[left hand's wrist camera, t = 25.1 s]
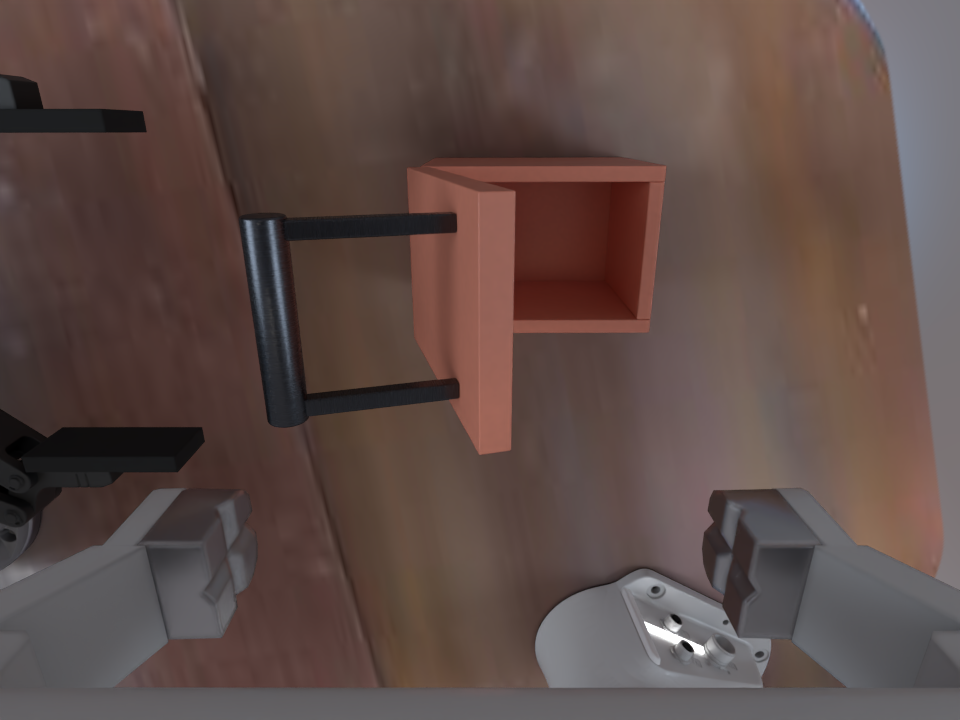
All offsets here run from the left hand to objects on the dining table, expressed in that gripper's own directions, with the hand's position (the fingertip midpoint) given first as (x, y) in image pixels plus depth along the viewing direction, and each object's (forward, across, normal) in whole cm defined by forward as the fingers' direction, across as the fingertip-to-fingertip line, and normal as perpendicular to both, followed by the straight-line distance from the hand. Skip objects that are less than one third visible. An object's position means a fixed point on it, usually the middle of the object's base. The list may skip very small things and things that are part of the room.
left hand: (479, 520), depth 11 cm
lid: (+18, +1, 0) cm, 18 cm away
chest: (+36, -3, 0) cm, 36 cm away
